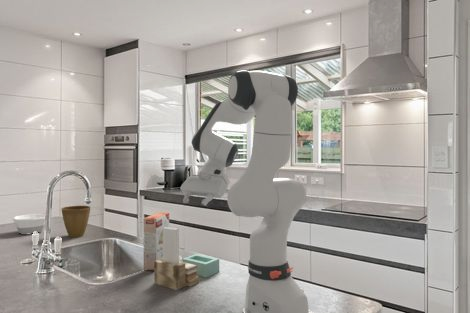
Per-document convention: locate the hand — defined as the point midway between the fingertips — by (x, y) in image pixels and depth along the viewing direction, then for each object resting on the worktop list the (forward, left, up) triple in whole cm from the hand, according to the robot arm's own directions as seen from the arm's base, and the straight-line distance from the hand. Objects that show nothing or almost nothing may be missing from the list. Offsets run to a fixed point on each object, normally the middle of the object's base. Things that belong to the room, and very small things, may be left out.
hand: (193, 203), depth 141 cm
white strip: (-4, +12, -27) cm, 30 cm away
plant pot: (+94, +25, -27) cm, 101 cm away
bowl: (+120, +45, -28) cm, 131 cm away
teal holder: (+1, -3, -27) cm, 28 cm away
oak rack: (-4, +12, -27) cm, 30 cm away
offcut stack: (-3, +7, -27) cm, 28 cm away
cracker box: (+19, +8, -28) cm, 34 cm away
